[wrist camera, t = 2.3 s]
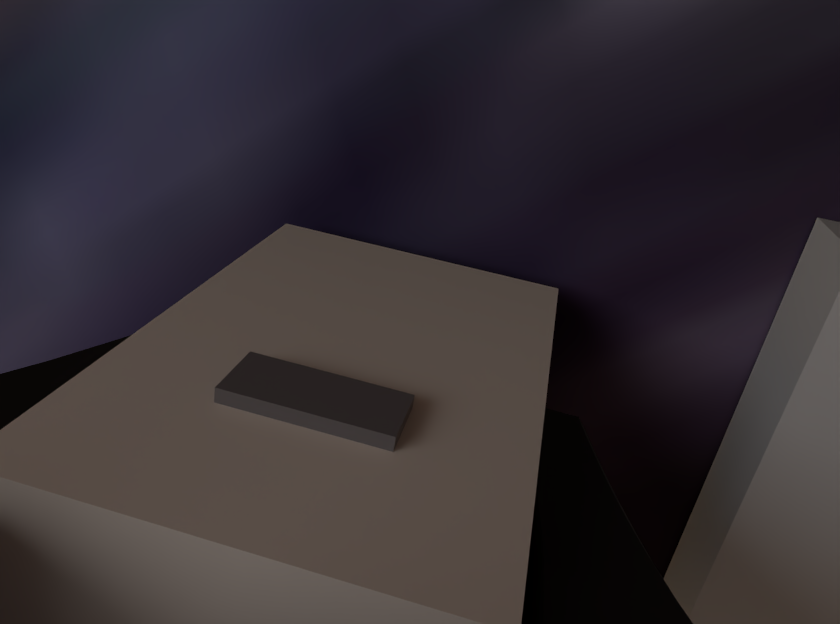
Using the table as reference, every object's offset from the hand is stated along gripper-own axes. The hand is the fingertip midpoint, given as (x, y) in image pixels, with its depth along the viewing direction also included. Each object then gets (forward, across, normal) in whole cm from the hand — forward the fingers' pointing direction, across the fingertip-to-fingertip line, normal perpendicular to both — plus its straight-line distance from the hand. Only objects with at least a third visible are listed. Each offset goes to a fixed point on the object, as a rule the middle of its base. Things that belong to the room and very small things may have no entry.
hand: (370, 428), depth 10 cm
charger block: (+2, 0, 0) cm, 2 cm away
